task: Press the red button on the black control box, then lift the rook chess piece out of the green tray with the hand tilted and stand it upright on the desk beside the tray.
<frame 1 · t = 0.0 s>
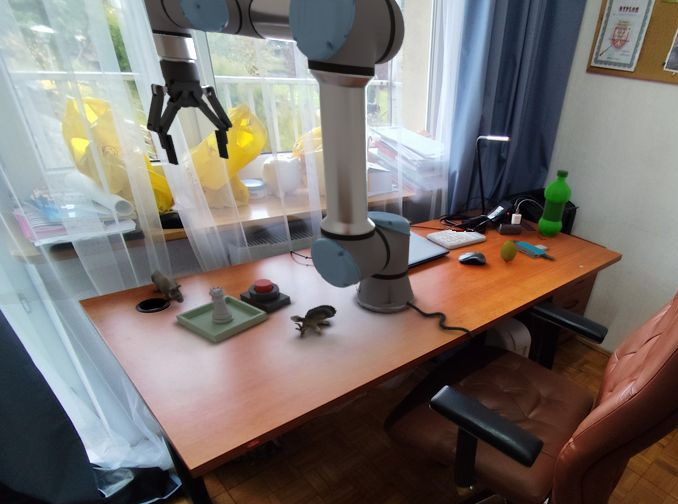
hand: (200, 161, 106), 28 cm above the table, tool pointing down, fingers open, 13 cm apart
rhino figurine: (172, 299, 103), on the table
rook chess piece: (223, 320, 97), resting on green tray
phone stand: (533, 250, 157), on the table
lemon: (506, 263, 144), on the table
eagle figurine: (315, 331, 98), on the table
plastic bottle: (547, 234, 175), on the table
control box: (266, 302, 106), on the table
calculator: (456, 240, 158), on the table
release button: (263, 286, 103), point 5 cm above the table, slide at 0.1 cm
green tray: (223, 320, 97), on the table
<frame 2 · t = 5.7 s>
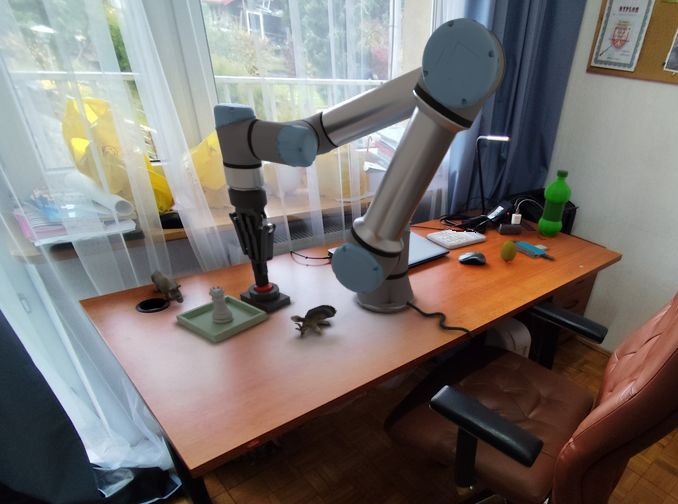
hand: (262, 284, 103), 5 cm above the table, tool pointing down, fingers closed
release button: (263, 289, 104), point 4 cm above the table, slide at -0.8 cm, touching gripper
everything else where it was.
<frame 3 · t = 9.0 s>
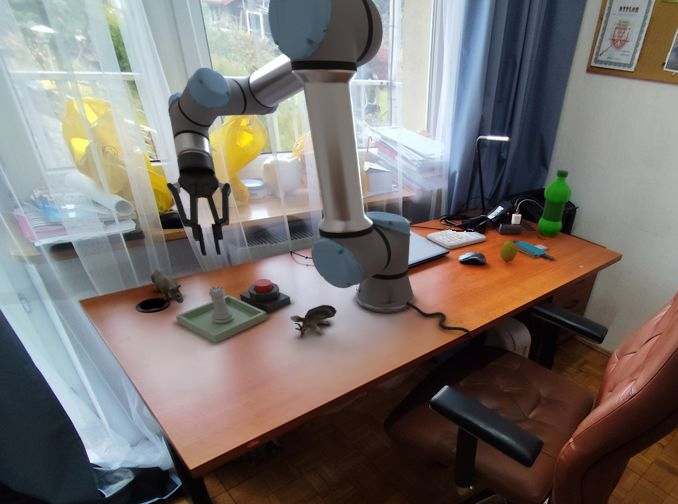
hand: (211, 252, 96), 13 cm above the table, tool tilted 45°, fingers open, 2 cm apart
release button: (263, 286, 103), point 5 cm above the table, slide at 0.1 cm
everything else where it was.
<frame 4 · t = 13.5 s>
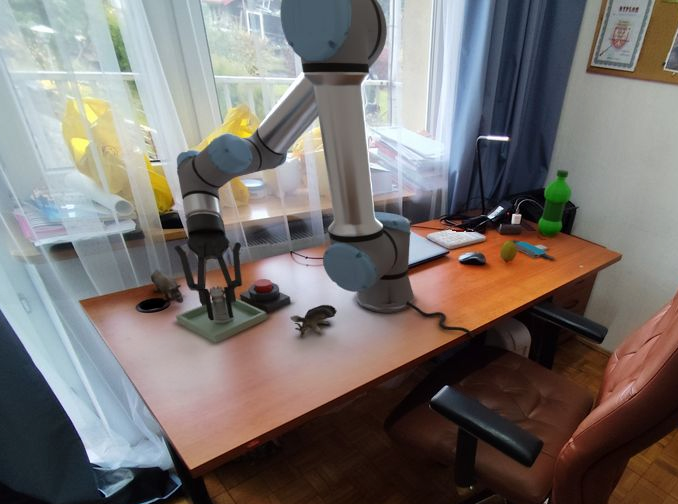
hand: (221, 317, 93), 3 cm above the table, tool tilted 45°, fingers closed on rook chess piece, 3 cm apart
rook chess piece: (223, 320, 97), resting on green tray, touching gripper
everything else where it was.
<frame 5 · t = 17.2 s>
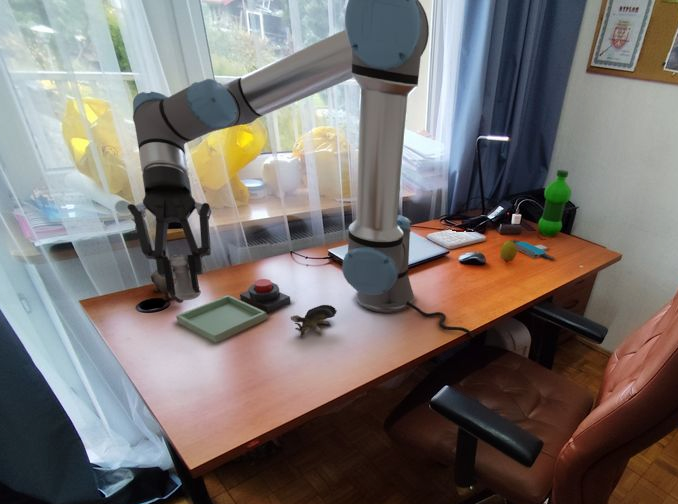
hand: (183, 291, 77), 15 cm above the table, tool tilted 45°, fingers closed on rook chess piece, 3 cm apart
rook chess piece: (189, 296, 81), point 12 cm above the table, touching gripper
everything else where it was.
when the fingers open (3 cm above the table, at t = 21.2 s): rook chess piece stays where it is, on the table.
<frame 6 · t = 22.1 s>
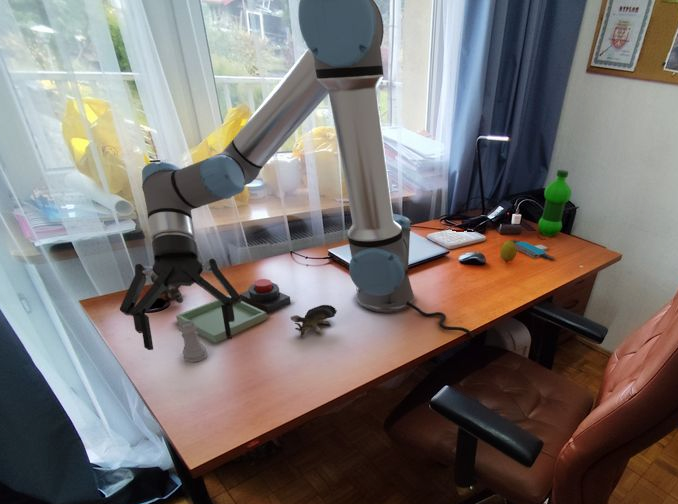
hand: (190, 343, 81), 5 cm above the table, tool tilted 45°, fingers open, 13 cm apart
rook chess piece: (196, 357, 85), on the table
everything else where it was.
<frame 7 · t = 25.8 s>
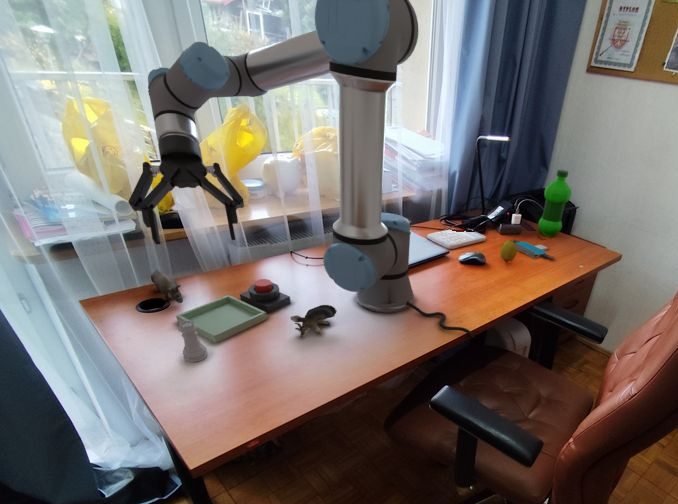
hand: (196, 239, 85), 20 cm above the table, tool tilted 45°, fingers open, 13 cm apart
nothing on the table moved.
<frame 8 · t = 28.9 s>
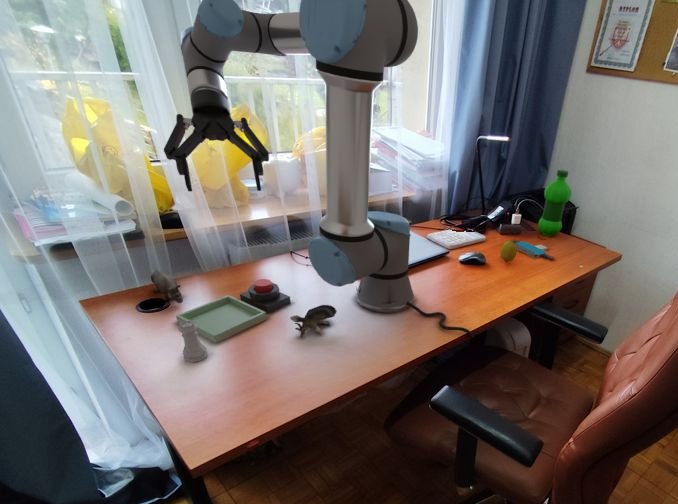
hand: (225, 188, 90), 28 cm above the table, tool tilted 45°, fingers open, 13 cm apart
nothing on the table moved.
at the end: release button pushed in 1.0 cm at the most during the clip, back to where it started at the end; rook chess piece inside the target area (0.1 cm from its centre), on the table; rook chess piece tilted 0° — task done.
